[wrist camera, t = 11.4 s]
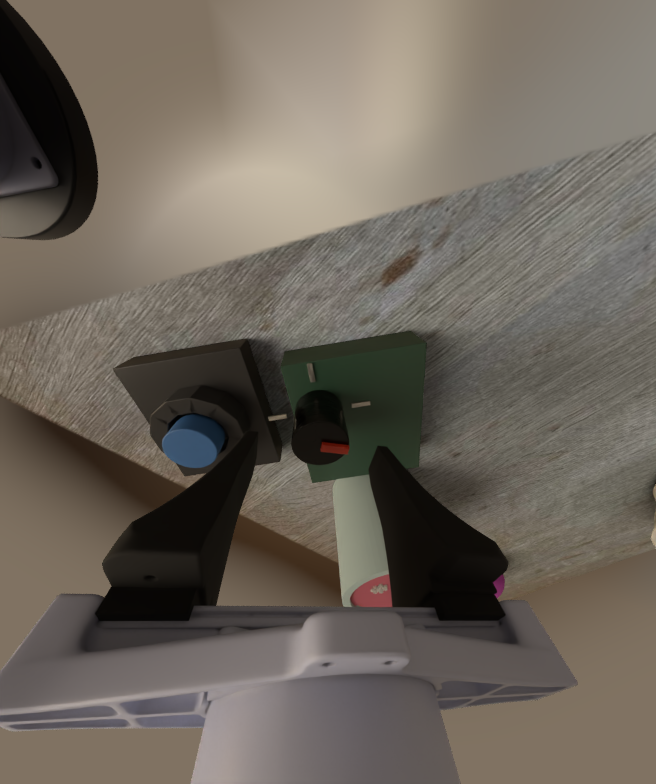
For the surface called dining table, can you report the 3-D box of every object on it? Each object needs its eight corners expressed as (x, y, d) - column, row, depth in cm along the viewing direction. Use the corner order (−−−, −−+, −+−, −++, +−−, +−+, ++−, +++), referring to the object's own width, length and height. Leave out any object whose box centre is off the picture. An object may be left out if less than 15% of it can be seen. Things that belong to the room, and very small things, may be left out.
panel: (261, 355, 19) (252, 371, 16) (410, 330, 18) (428, 343, 15) (294, 462, 24) (292, 487, 22) (407, 444, 24) (419, 468, 21)
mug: (316, 485, 26) (318, 595, 18) (388, 446, 24) (430, 551, 15) (376, 536, 32) (400, 637, 24) (438, 508, 30) (489, 610, 21)
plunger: (165, 417, 17) (150, 433, 15) (214, 410, 17) (204, 425, 15) (187, 454, 18) (176, 471, 17) (232, 447, 18) (225, 464, 17)
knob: (292, 426, 18) (287, 466, 15) (298, 386, 17) (295, 421, 13) (336, 431, 19) (342, 471, 15) (347, 393, 17) (356, 428, 14)
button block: (132, 357, 18) (90, 380, 15) (247, 338, 18) (231, 357, 14) (194, 458, 23) (174, 493, 20) (282, 445, 23) (277, 478, 20)
